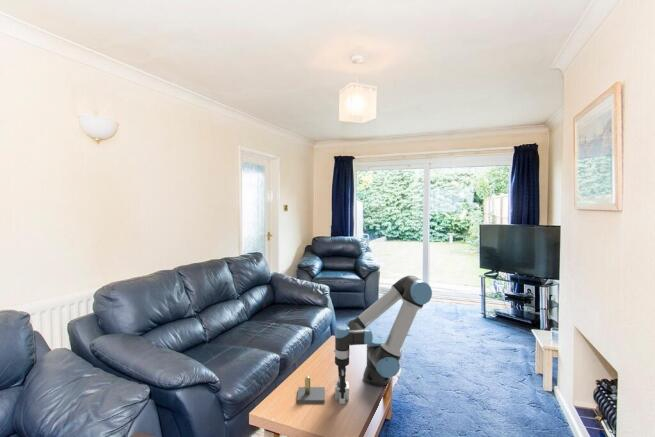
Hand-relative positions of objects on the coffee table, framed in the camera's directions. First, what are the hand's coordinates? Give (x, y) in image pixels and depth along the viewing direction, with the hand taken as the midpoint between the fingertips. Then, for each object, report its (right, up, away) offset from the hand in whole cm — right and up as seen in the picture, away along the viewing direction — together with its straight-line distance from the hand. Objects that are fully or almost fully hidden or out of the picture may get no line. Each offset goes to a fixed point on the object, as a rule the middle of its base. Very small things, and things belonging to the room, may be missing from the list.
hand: (341, 395), depth 179 cm
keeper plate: (-16, 0, 0) cm, 16 cm away
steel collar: (0, 0, 0) cm, 0 cm away
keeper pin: (-18, +1, 0) cm, 18 cm away
